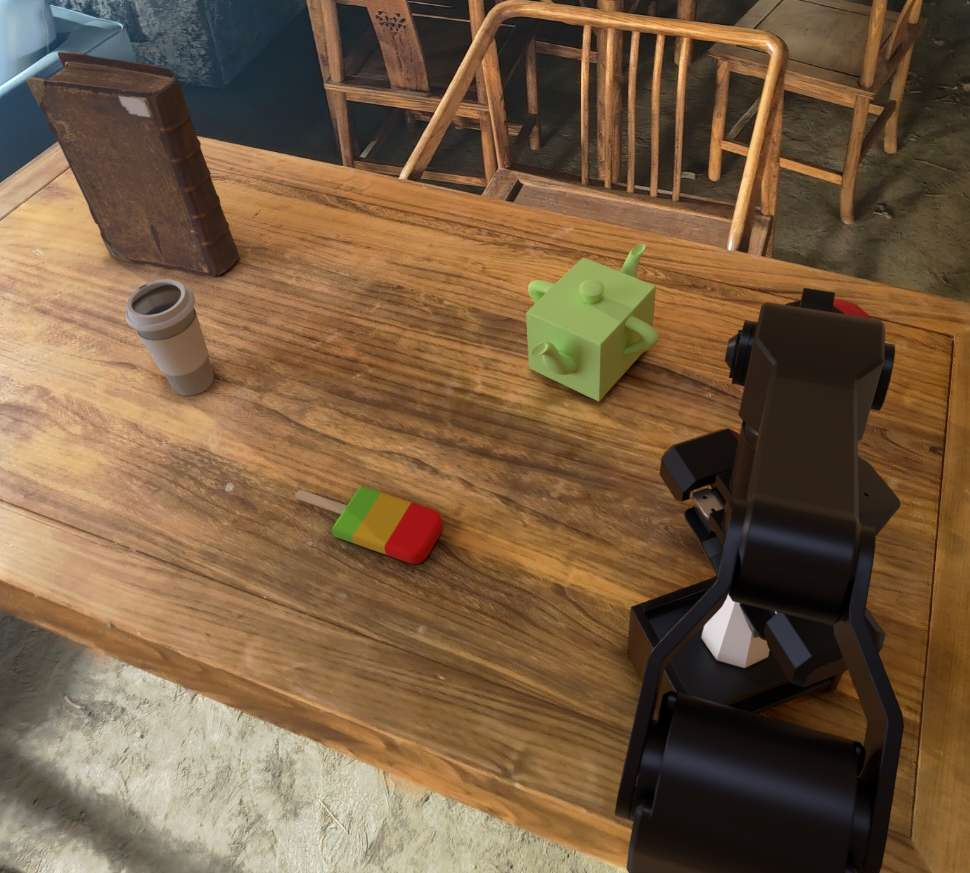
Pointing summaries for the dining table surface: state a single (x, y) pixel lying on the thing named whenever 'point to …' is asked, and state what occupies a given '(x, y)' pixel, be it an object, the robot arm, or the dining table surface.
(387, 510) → the popsicle
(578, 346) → the teapot
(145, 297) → the cup
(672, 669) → the black open box
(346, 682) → the dining table surface
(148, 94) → the book
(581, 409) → the dining table surface
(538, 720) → the dining table surface
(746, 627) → the salt shaker
